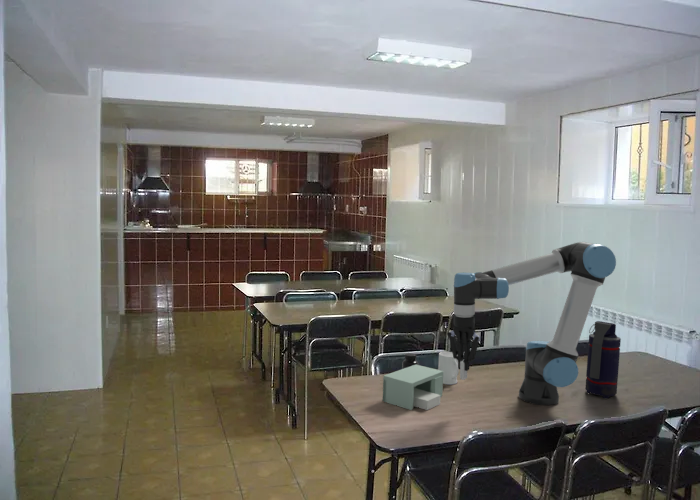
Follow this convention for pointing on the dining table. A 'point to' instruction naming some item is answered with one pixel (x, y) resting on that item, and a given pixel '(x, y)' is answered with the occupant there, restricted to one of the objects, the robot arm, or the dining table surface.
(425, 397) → the lid
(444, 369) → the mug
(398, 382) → the shelf
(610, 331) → the grenade
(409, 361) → the supplement bottle
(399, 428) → the dining table surface
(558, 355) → the robot arm
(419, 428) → the dining table surface
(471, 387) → the dining table surface
